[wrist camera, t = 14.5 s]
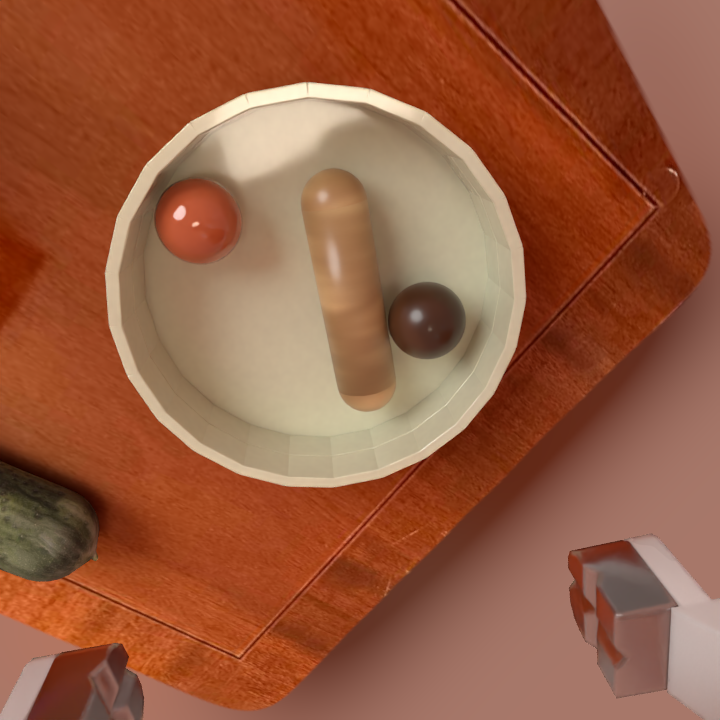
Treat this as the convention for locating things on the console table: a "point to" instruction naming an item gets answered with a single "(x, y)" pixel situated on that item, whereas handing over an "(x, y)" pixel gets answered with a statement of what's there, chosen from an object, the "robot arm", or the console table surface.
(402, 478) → the console table surface
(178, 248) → the bead terracotta
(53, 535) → the vegetable
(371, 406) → the stick
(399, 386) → the bowl
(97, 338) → the console table surface
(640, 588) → the robot arm
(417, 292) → the bead walnut
